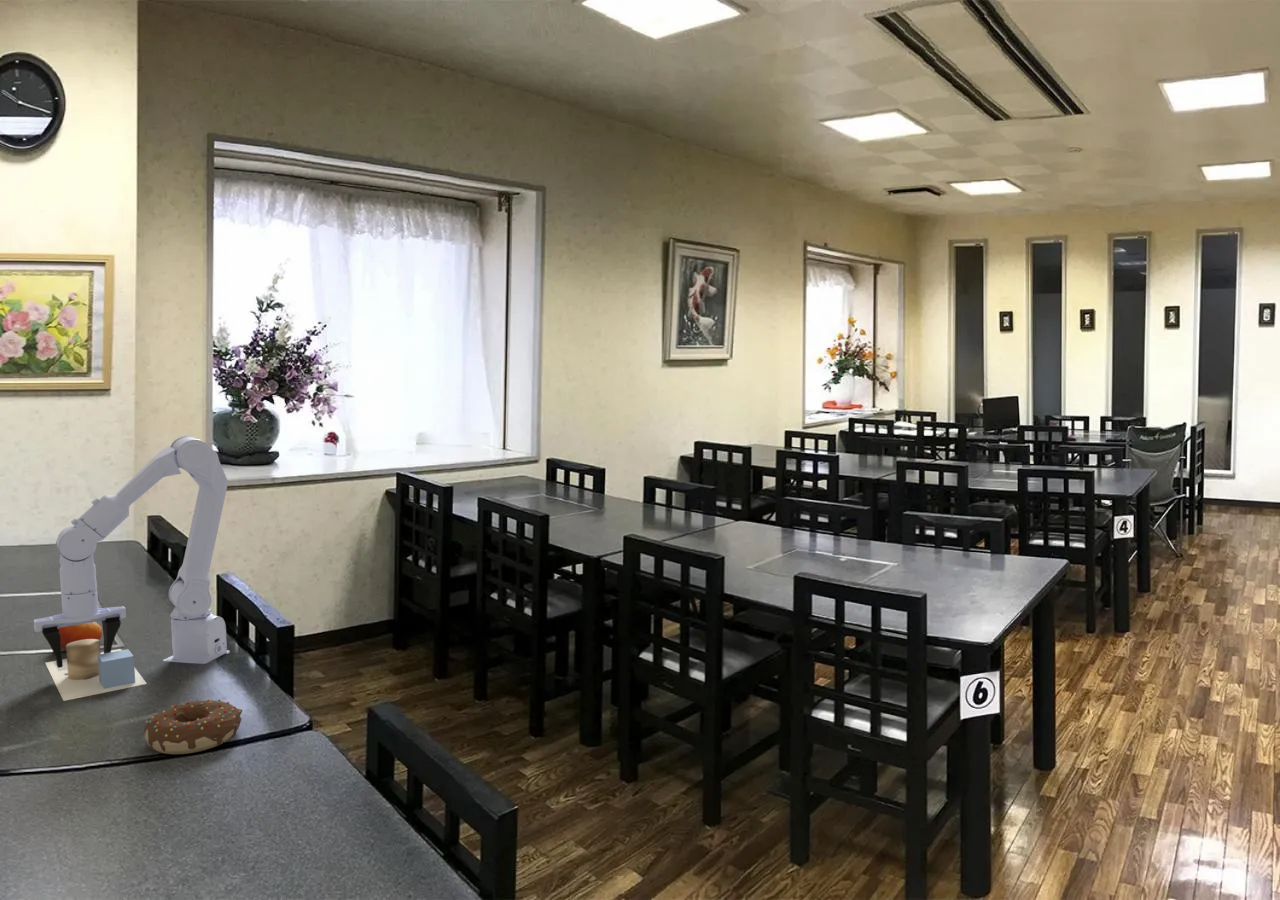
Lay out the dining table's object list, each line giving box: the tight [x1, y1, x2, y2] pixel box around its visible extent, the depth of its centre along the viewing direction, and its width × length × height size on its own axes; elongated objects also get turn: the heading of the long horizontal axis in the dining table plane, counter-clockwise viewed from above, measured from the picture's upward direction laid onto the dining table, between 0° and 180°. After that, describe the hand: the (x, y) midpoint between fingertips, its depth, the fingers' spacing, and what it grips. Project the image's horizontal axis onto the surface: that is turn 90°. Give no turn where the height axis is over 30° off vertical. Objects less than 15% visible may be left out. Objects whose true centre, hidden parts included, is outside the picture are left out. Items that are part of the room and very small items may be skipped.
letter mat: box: [44, 648, 147, 702], centre depth 173 cm, size 13×25×1 cm, turn 39°
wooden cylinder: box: [65, 639, 101, 680], centre depth 172 cm, size 5×5×6 cm
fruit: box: [58, 622, 103, 651], centre depth 187 cm, size 8×8×8 cm
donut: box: [144, 699, 243, 755], centre depth 145 cm, size 14×14×5 cm
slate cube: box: [98, 648, 136, 689], centre depth 168 cm, size 5×5×5 cm
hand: (83, 661), depth 172 cm, fingers open, 7 cm apart
